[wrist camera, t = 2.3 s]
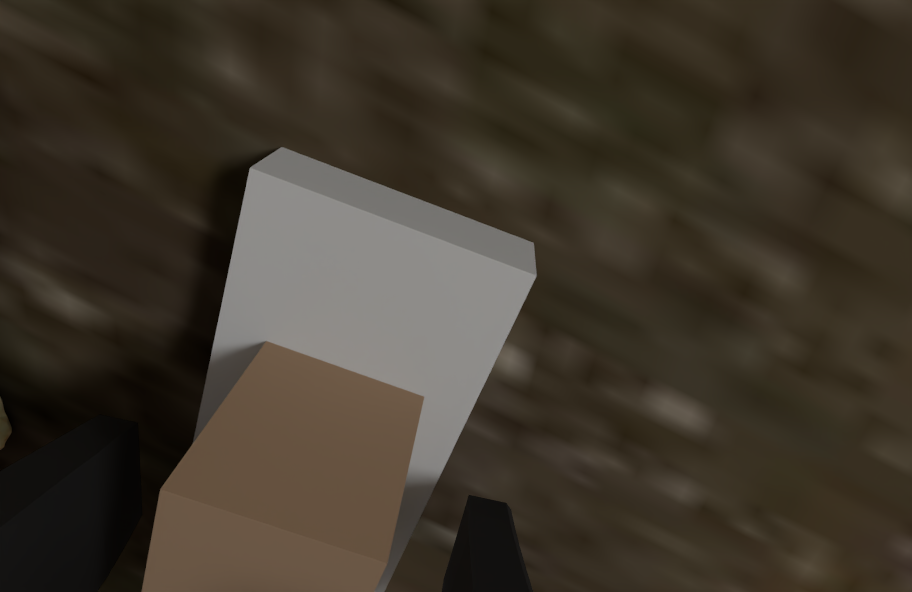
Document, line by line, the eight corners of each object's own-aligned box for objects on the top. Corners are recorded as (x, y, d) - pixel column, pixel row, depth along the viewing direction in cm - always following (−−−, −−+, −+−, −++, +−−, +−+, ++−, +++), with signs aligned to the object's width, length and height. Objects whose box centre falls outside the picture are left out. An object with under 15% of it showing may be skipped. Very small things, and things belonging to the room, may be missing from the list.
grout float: (359, 611, 14) (296, 862, 10) (191, 558, 14) (55, 795, 9) (533, 236, 9) (547, 415, 5) (288, 141, 9) (109, 257, 5)
